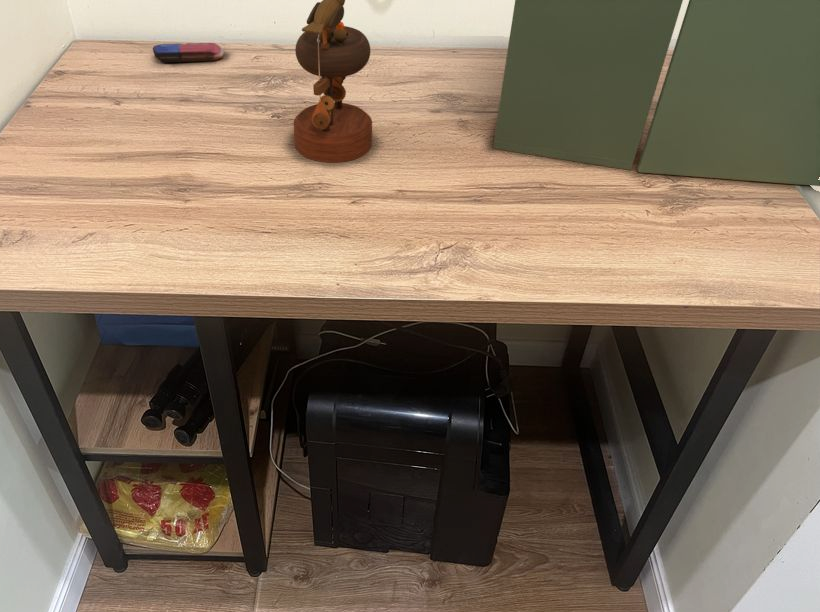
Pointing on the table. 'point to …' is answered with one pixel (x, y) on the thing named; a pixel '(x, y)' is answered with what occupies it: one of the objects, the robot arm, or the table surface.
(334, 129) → the music box
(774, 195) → the table surface
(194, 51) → the eraser
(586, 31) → the cupboard
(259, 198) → the table surface
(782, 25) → the door
